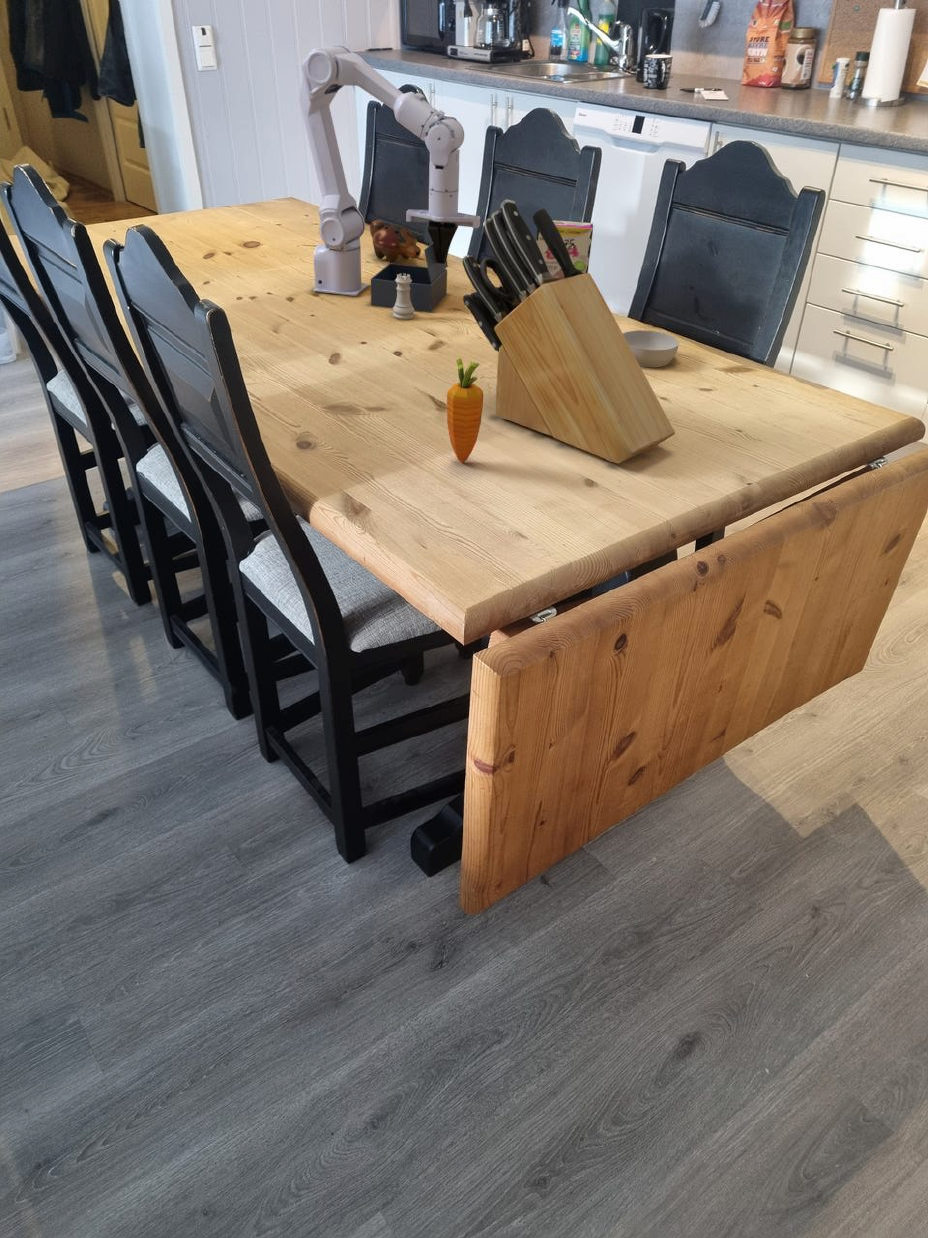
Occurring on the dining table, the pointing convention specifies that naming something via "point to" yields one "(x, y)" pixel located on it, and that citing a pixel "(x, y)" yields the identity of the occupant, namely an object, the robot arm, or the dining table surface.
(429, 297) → the carton
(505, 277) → the knife block
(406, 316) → the rook chess piece
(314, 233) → the dining table surface
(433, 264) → the flap
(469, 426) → the carrot
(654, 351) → the grey bowl
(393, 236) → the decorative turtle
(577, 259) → the candy bar box
